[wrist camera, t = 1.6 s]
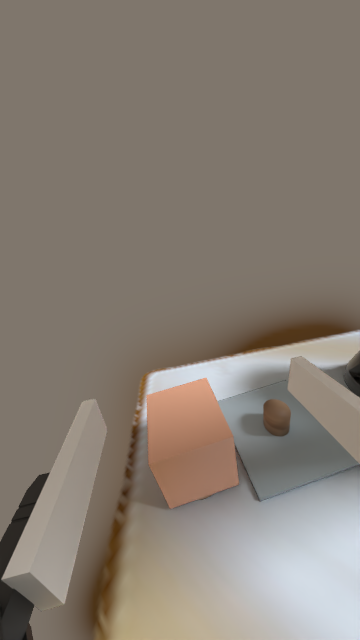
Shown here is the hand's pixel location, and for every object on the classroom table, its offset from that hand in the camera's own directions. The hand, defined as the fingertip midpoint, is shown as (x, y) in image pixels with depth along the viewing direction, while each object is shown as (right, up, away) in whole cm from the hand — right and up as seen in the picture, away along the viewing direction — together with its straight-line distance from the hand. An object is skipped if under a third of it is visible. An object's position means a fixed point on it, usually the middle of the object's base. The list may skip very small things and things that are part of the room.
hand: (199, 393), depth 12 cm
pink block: (+1, -17, +18) cm, 25 cm away
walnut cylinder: (+15, -13, +20) cm, 28 cm away
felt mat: (+15, -14, +20) cm, 29 cm away
